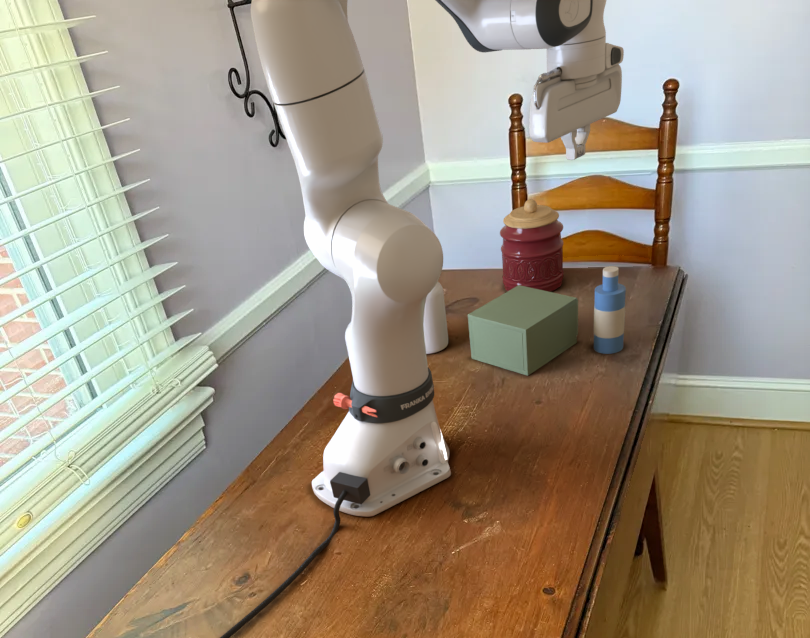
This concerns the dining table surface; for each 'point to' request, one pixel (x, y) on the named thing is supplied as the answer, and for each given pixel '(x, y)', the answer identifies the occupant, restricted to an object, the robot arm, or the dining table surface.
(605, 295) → the bottle
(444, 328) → the pill bottle
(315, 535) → the dining table surface
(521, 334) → the cabinet
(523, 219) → the kitchen canister
